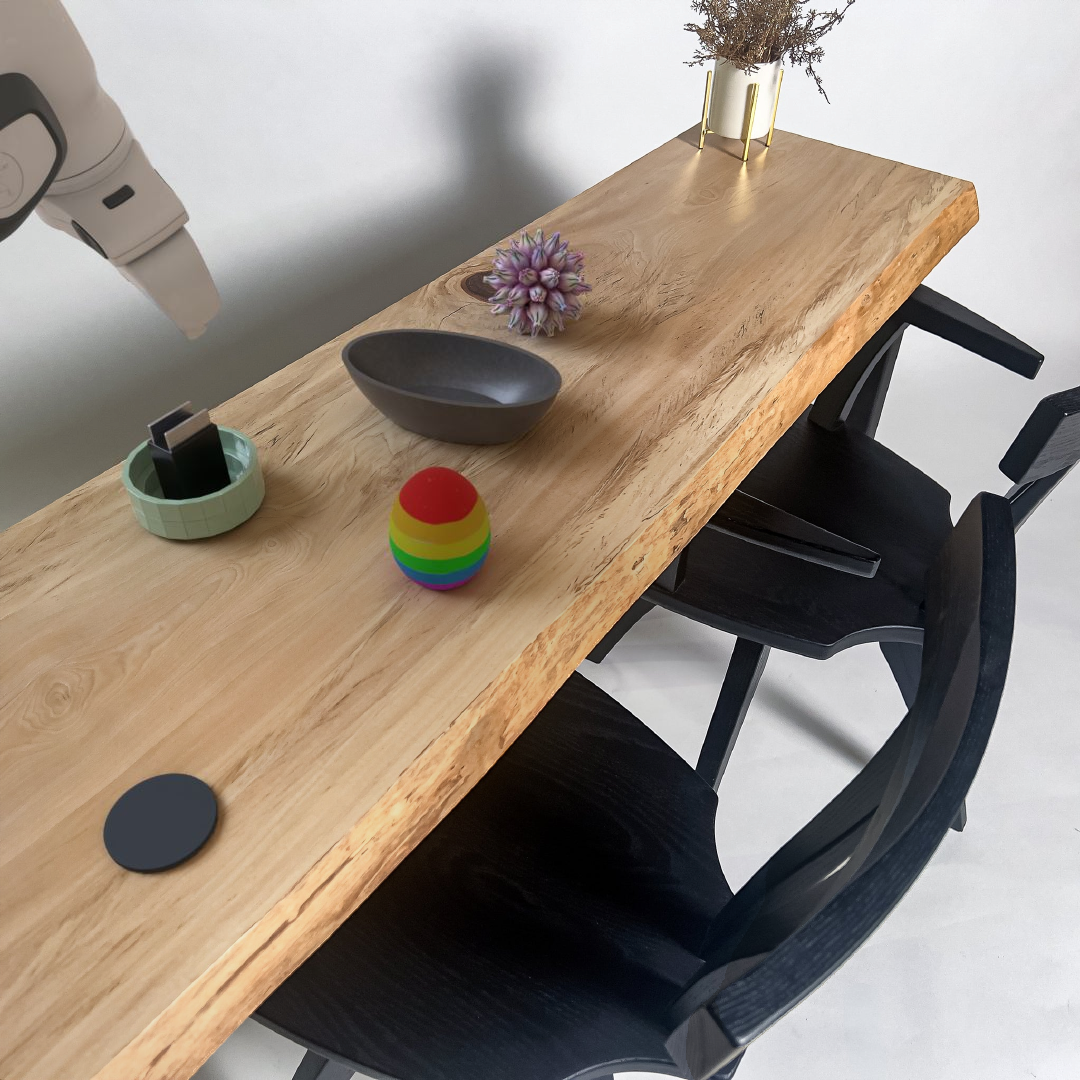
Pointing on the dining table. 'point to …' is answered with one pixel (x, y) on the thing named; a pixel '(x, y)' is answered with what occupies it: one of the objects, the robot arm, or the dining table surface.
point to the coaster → (160, 823)
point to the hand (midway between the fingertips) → (164, 302)
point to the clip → (188, 454)
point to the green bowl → (196, 513)
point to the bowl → (452, 383)
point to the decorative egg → (439, 529)
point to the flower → (537, 283)
